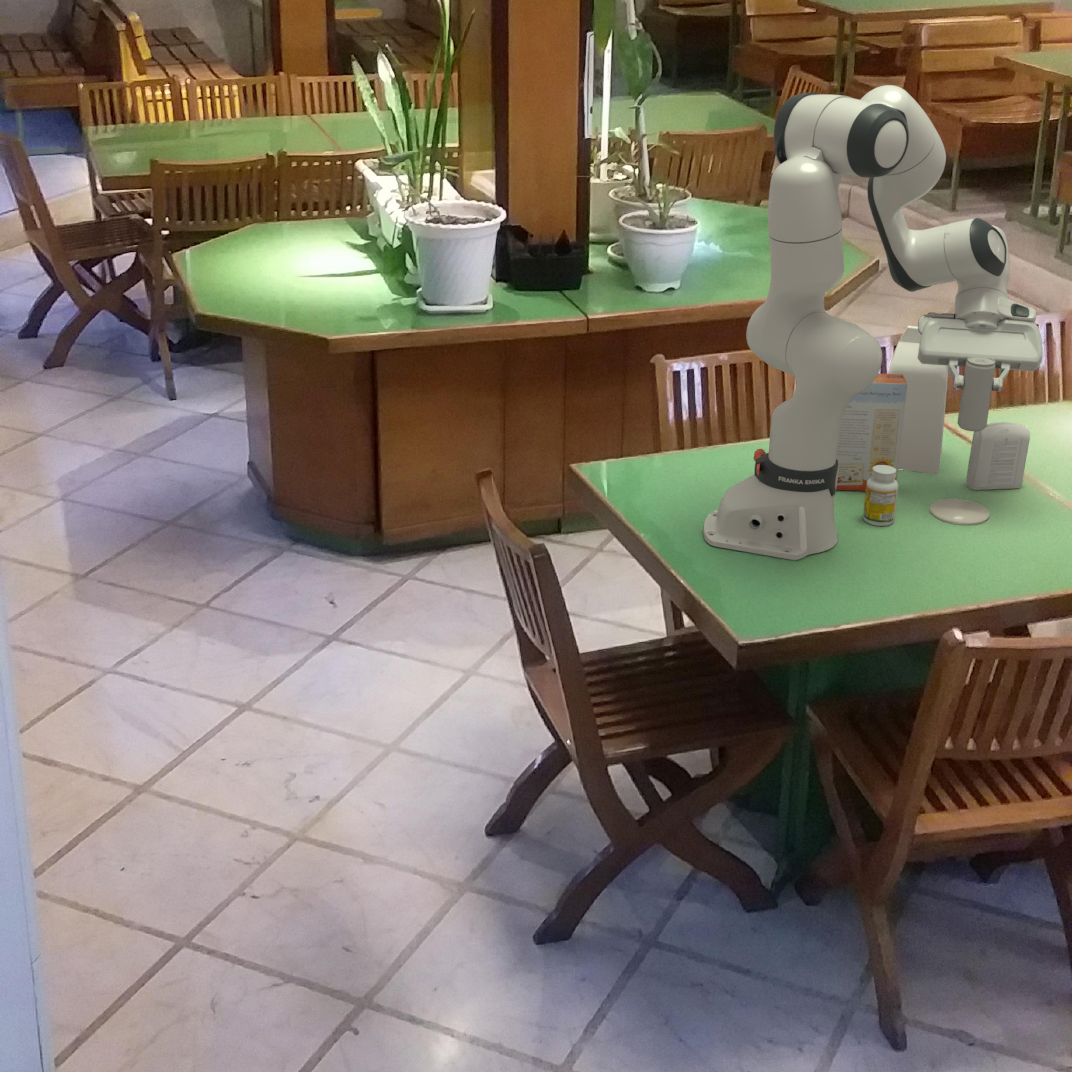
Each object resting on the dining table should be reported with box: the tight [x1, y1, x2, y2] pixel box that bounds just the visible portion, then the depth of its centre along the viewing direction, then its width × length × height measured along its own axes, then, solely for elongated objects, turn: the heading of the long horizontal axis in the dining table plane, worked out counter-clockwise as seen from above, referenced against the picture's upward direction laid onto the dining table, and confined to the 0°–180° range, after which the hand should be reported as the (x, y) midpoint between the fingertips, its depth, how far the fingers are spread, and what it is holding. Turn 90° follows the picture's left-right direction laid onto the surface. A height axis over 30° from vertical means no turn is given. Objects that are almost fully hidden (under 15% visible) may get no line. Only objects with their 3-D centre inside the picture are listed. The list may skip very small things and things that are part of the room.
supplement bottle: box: [862, 465, 899, 527], centre depth 250 cm, size 5×5×10 cm
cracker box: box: [836, 373, 907, 492], centre depth 262 cm, size 14×6×21 cm, turn 84°
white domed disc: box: [929, 498, 990, 526], centre depth 255 cm, size 10×10×1 cm
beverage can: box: [957, 357, 996, 433], centre depth 246 cm, size 5×5×12 cm
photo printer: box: [965, 421, 1031, 490], centre depth 264 cm, size 10×4×12 cm, turn 98°
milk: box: [887, 325, 949, 475], centre depth 273 cm, size 12×12×26 cm
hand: (977, 388), depth 245 cm, fingers closed on beverage can, 5 cm apart
